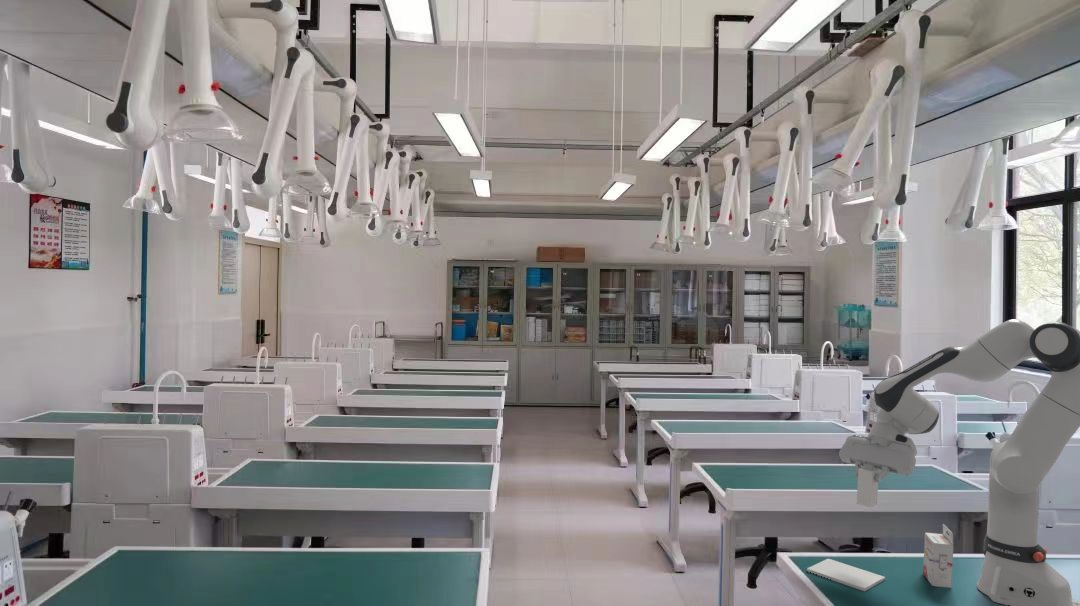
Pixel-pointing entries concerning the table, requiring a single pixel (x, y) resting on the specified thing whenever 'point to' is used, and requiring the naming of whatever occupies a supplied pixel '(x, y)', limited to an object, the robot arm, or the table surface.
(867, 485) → the white tall rectangular block
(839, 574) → the white spiral notebook
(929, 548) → the ink cartridge box
